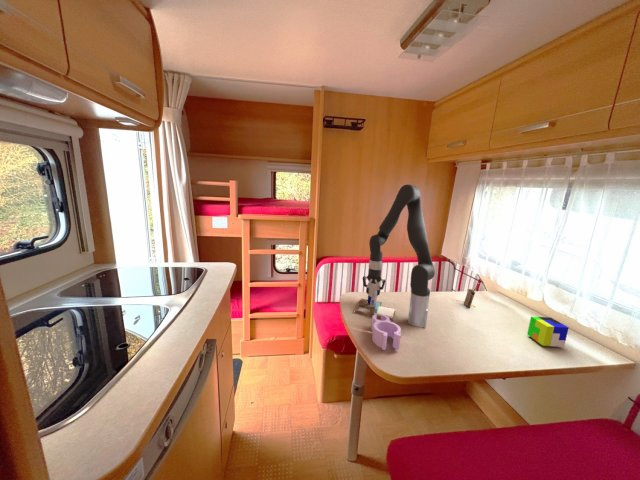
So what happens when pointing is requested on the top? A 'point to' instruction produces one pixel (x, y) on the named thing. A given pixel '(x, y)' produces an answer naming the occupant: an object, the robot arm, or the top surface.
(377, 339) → the clip
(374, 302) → the beverage can
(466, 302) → the walkie talkie
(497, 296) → the top surface
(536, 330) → the puzzle toy
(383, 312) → the slide cover
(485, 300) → the top surface
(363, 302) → the tan flat frame
